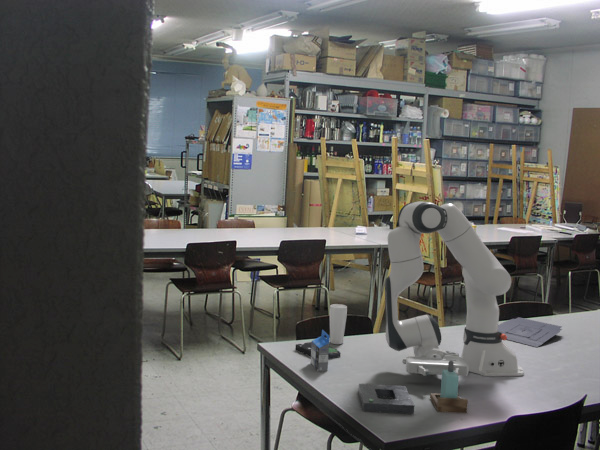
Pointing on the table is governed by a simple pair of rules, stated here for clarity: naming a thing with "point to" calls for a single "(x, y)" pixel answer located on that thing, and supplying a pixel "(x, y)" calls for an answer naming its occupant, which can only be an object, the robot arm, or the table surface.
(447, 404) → the open wooden frame
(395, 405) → the port block
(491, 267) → the robot arm
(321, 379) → the table surface
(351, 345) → the table surface
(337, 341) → the drinking glass
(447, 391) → the plug
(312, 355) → the blue product box
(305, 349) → the disk drive
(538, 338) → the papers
